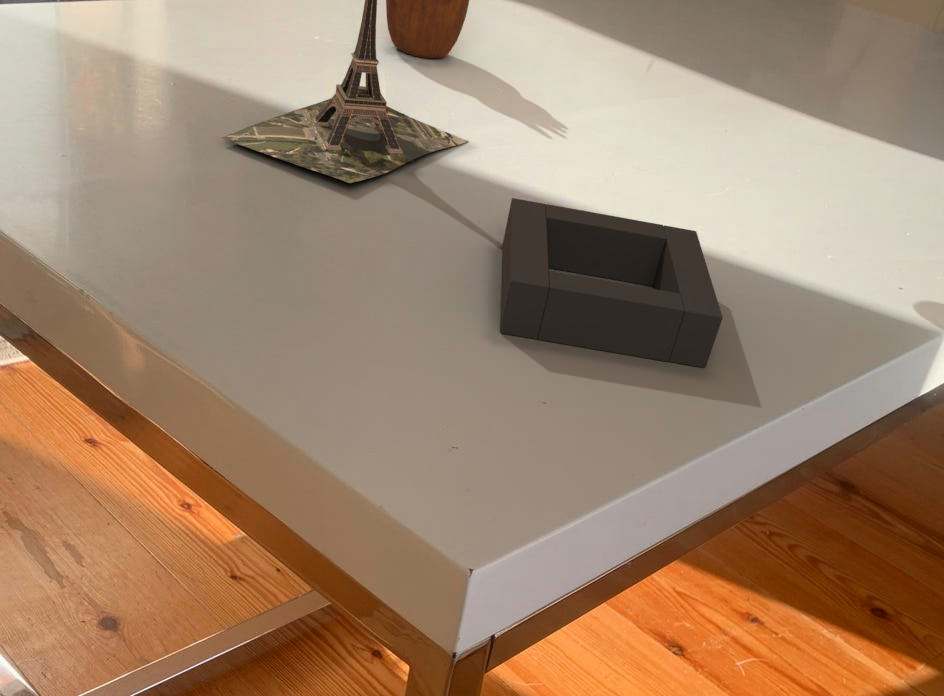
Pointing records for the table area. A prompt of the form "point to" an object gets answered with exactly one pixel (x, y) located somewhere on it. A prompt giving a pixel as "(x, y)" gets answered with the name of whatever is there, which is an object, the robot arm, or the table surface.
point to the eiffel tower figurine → (348, 125)
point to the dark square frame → (607, 284)
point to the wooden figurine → (425, 25)
